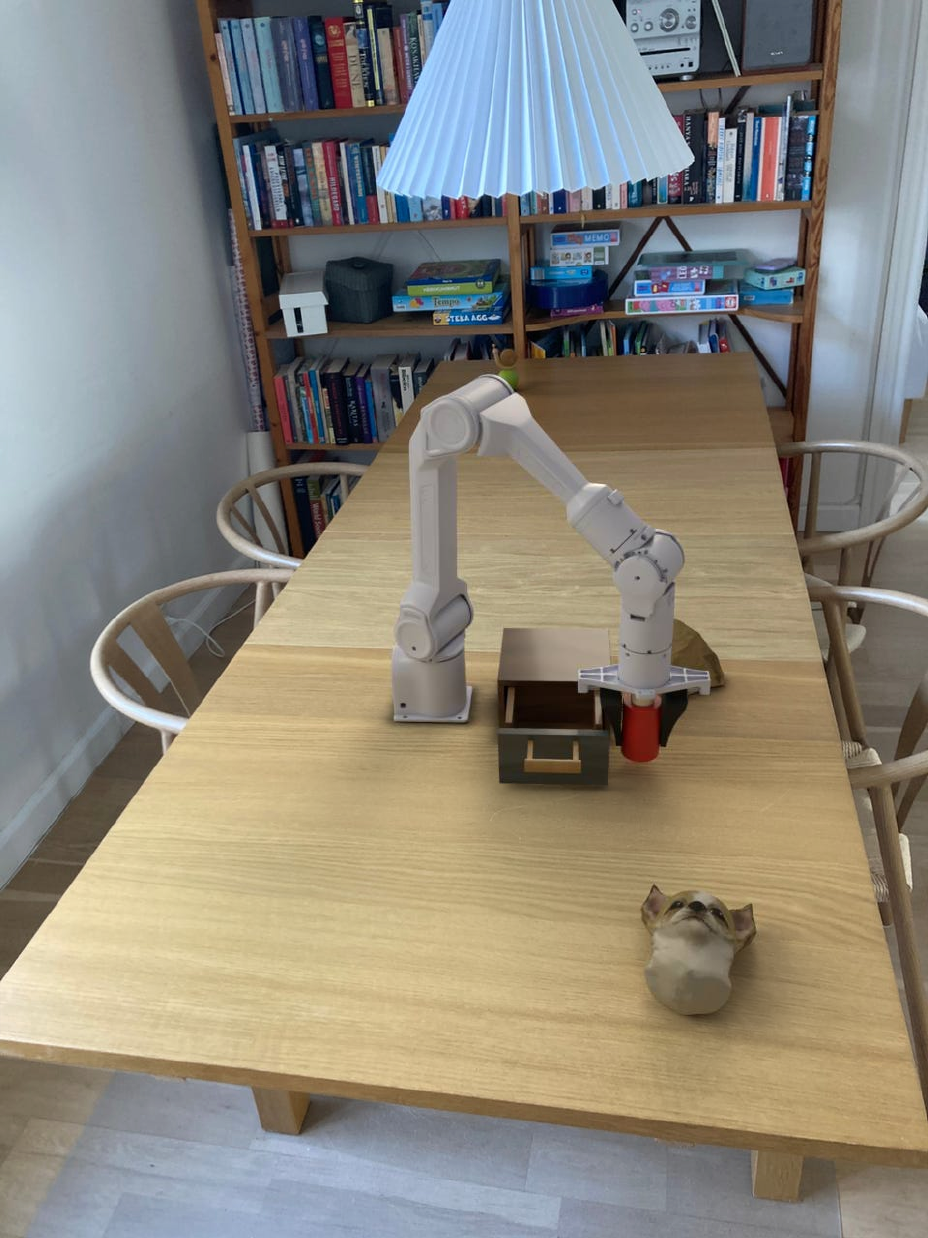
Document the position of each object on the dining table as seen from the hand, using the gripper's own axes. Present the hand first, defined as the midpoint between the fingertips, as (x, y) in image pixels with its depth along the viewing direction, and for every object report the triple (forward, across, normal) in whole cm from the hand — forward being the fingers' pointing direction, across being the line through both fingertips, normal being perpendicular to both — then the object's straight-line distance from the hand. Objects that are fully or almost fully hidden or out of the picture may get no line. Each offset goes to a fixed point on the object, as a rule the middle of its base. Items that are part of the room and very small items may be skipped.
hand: (640, 741), depth 118 cm
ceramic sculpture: (+4, +3, -30) cm, 30 cm away
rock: (+4, +7, +17) cm, 19 cm away
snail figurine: (+4, -24, +152) cm, 154 cm away
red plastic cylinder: (+1, 0, 0) cm, 1 cm away
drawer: (+3, -10, -2) cm, 11 cm away
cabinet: (+4, -10, +11) cm, 15 cm away
